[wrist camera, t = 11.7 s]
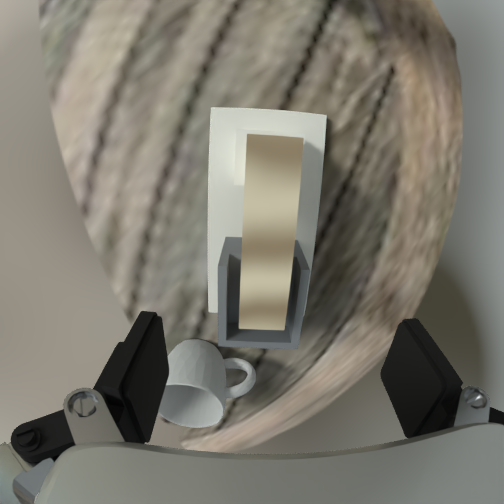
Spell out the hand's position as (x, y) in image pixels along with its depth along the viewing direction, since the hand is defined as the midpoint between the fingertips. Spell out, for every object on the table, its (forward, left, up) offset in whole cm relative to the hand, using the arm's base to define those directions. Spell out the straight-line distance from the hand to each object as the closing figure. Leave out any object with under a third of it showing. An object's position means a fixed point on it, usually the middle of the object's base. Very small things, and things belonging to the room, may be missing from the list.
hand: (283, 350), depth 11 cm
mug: (+21, -6, -24) cm, 32 cm away
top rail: (0, 0, -18) cm, 18 cm away
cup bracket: (0, 0, -24) cm, 24 cm away
